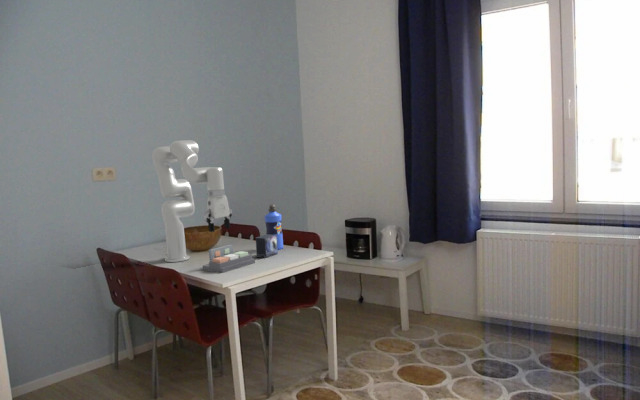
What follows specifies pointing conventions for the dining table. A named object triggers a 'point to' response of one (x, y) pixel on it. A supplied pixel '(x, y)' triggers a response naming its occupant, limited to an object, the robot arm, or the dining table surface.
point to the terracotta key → (220, 259)
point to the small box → (266, 246)
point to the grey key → (231, 256)
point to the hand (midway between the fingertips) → (219, 229)
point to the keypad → (228, 264)
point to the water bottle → (274, 225)
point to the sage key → (241, 253)
